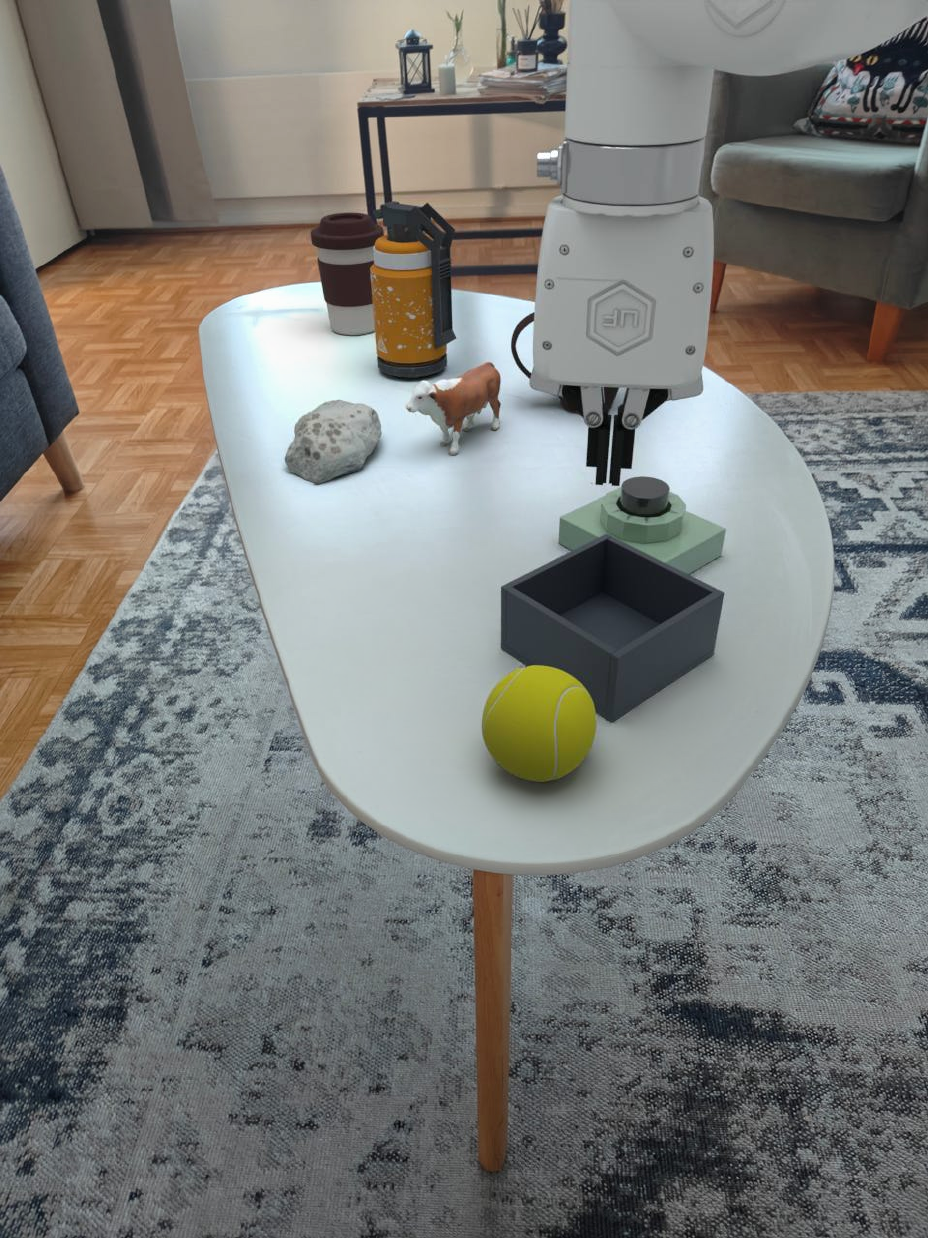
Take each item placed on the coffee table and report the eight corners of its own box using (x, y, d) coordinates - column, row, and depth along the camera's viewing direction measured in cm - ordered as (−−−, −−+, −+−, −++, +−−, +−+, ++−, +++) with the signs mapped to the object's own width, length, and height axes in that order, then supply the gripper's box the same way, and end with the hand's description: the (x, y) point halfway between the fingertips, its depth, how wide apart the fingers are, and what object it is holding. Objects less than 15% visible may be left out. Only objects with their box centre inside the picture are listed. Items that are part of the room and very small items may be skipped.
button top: (676, 509, 76) (679, 487, 75) (646, 525, 74) (648, 503, 73) (640, 492, 79) (642, 471, 78) (609, 507, 77) (611, 486, 76)
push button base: (721, 555, 78) (729, 509, 75) (654, 594, 73) (660, 547, 71) (625, 510, 85) (629, 466, 82) (558, 543, 80) (560, 498, 77)
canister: (407, 352, 121) (398, 191, 110) (474, 368, 116) (471, 200, 104) (363, 372, 116) (348, 204, 104) (431, 390, 110) (424, 215, 99)
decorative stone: (279, 439, 99) (273, 396, 97) (376, 427, 102) (372, 384, 99) (290, 488, 90) (283, 442, 87) (396, 474, 92) (393, 428, 89)
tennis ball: (610, 750, 59) (618, 666, 55) (561, 820, 54) (566, 734, 50) (516, 713, 62) (518, 631, 58) (462, 776, 57) (460, 692, 53)
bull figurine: (402, 456, 95) (397, 382, 90) (483, 416, 103) (483, 346, 99) (432, 468, 93) (429, 392, 88) (513, 426, 101) (514, 354, 96)
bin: (713, 655, 67) (725, 592, 63) (611, 723, 61) (618, 658, 58) (601, 592, 74) (606, 533, 70) (500, 648, 68) (500, 586, 65)
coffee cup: (352, 313, 136) (342, 206, 127) (403, 324, 131) (397, 214, 123) (307, 331, 130) (293, 220, 121) (359, 343, 125) (349, 228, 116)
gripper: (487, 186, 47) (489, 496, 58) (780, 188, 45) (727, 510, 56) (505, 162, 53) (504, 447, 64) (765, 162, 51) (719, 457, 62)
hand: (608, 475), depth 60 cm, fingers closed
